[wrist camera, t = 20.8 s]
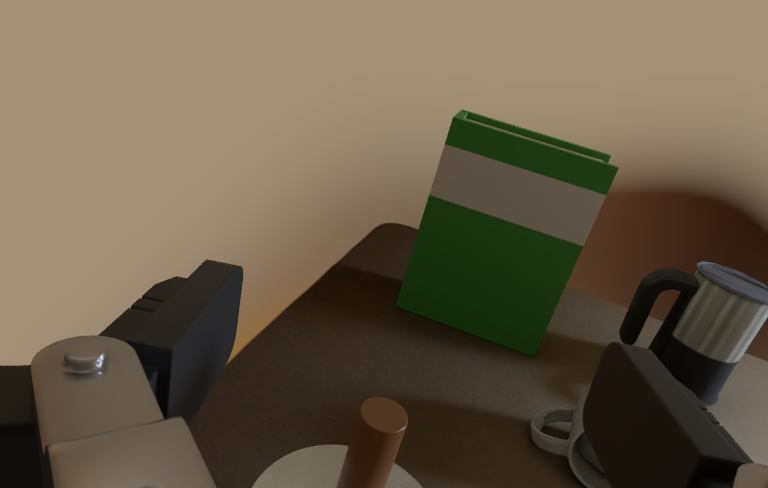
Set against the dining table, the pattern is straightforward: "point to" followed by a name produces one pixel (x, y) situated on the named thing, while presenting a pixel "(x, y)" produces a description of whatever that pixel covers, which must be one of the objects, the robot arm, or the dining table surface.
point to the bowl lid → (349, 456)
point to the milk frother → (700, 323)
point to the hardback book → (503, 230)
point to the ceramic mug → (571, 443)
